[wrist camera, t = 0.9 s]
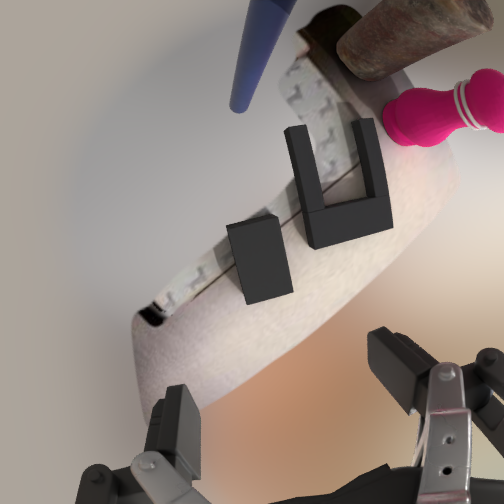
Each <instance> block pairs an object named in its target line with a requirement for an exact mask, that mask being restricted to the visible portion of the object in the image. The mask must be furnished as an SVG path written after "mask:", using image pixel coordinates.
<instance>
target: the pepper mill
mask: <svg viewBox="0 0 504 504" xmlns="http://www.w3.org/2000/svg"><path fill="white" fill-rule="evenodd" d="M383 123H384V127H385V129H386V131H387V133H388V134H389V136H390V137H391V138H392V139H393V140H394V141H395V142H396V143H398V144H400V145H402V146H411V145H418V146H422V147H431V146H434V145H437V144H439V143H441V142H442V141H444V140H445V139H446V138H447V137H448V136H449V135H450V134H451V133H452V132H453V131H454V130H455V129H458V128H462V127H470V128H471V129H473V130H480V129H481V130H484V129H487V128H489V129H490V130H492V131H494V132H497V133H504V75H503V74H502V73H501V72H499V71H497V70H493V69H481V70H478V71H476V72H475V73H474V74H473V75H472V77H471V79H470V80H464V81H463V82H462V81H460V82H458V83H456V85H455V87H454V89H453V90H449V91H437V90H432V89H427V88H413V89H409V90H406V91H404V92H403V93H402V94H401V95H400V96H399V98H398V99H395V100H393V101H390V102H389V103H388V104H386V106H385V108H384V110H383Z"/></svg>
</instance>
